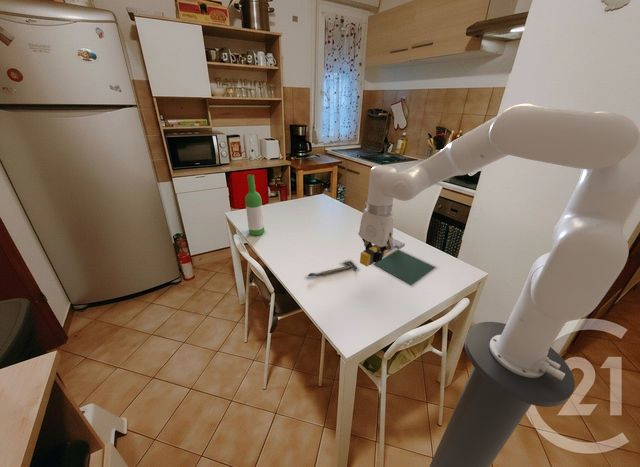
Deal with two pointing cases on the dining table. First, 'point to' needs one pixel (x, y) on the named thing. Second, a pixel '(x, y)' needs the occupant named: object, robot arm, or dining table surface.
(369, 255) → the yellow striped handle
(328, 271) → the tomahawk
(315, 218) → the dining table surface
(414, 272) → the mat
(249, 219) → the wine bottle
